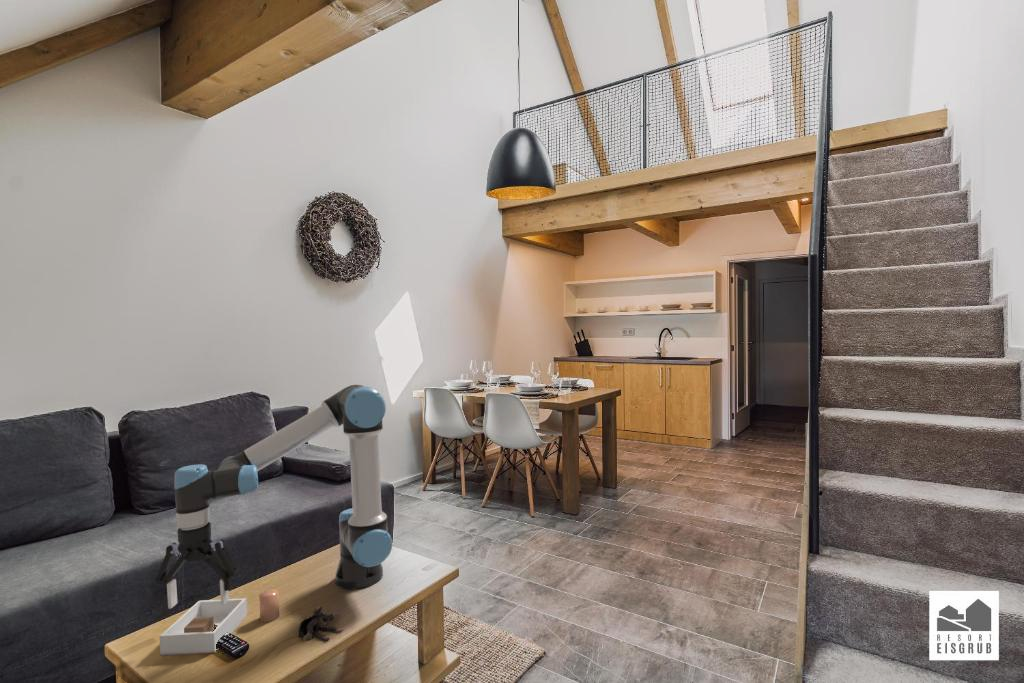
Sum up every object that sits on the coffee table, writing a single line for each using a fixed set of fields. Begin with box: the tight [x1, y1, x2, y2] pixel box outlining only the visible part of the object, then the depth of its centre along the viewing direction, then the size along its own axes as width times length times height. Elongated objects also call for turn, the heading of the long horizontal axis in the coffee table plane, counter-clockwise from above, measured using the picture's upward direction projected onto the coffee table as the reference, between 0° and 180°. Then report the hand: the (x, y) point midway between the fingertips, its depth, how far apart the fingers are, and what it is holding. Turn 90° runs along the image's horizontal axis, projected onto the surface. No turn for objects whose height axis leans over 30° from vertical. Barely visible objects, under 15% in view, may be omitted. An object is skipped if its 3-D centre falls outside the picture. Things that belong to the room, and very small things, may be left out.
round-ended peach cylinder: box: [258, 588, 280, 623], centre depth 148 cm, size 5×5×7 cm
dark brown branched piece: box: [297, 606, 344, 642], centre depth 142 cm, size 12×10×12 cm
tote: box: [159, 597, 248, 656], centre depth 140 cm, size 14×18×5 cm
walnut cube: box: [184, 616, 214, 633], centre depth 136 cm, size 5×5×5 cm
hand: (199, 604), depth 136 cm, fingers open, 13 cm apart
